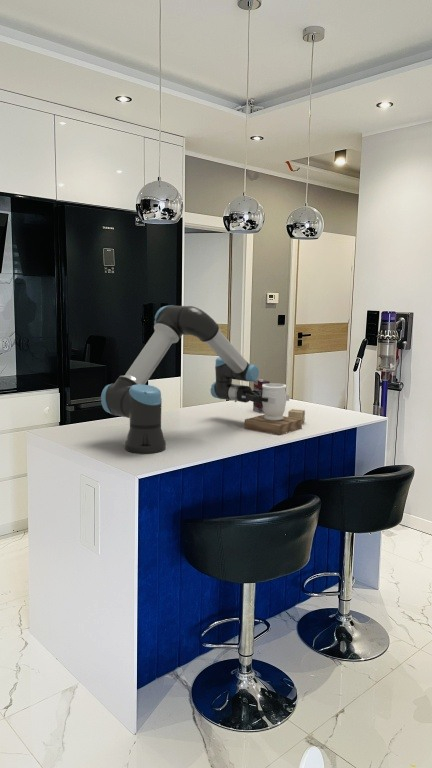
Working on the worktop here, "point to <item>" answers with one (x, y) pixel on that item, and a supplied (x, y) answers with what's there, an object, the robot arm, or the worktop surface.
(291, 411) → the oak cube
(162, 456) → the worktop surface
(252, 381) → the robot arm
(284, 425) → the walnut slab
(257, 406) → the supplement box
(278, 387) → the jar
